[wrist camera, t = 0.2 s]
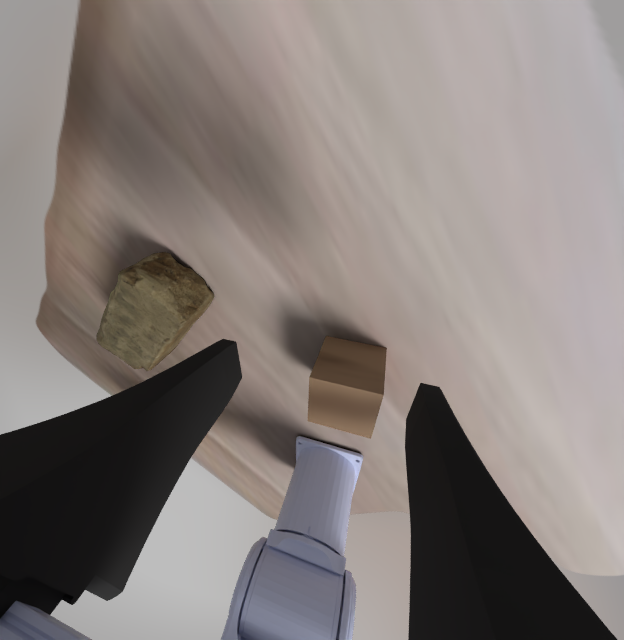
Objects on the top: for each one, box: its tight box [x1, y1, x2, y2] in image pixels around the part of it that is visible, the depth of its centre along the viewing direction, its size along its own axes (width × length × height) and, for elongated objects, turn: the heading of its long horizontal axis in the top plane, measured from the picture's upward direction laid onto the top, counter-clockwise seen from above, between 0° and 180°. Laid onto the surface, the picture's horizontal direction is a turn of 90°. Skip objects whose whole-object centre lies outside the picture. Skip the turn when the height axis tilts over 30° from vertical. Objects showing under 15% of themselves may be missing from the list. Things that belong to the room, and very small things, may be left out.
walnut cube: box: [308, 336, 387, 439], centre depth 20 cm, size 5×5×5 cm
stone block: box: [97, 252, 214, 371], centre depth 23 cm, size 6×12×5 cm, turn 138°
